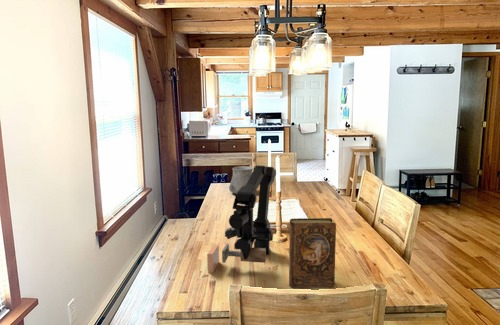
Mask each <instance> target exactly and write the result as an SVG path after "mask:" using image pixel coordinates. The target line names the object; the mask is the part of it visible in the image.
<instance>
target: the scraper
mask: <svg viewBox="0 0 500 325" xmlns="http://www.w3.org/2000/svg"><path fill="white" fill-rule="evenodd" d="M221 257H222V258H221V259H222V260H221V262H222V264H225V263H226V262H227V259H228V258H229V257H234V258H235V257H237V258H238V257H239V258H240V262H250V263H263V264H265V263H266V262H267V254H266V248H254V247H253V246H252V247H251V250H250V253H249V255H248V258H247V260H246V259H244V257H243V253H242V250H241V249H240V250H231V249H230V243H226V244H225V245H224V247H223V249H222V250H221Z"/></svg>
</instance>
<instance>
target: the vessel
mask: <svg viewBox="0 0 500 325" xmlns="http://www.w3.org/2000/svg"><path fill="white" fill-rule="evenodd" d="M231 169H232V176H231V180H230V184H229V185H228V190H229V191H230V192H231V193H232V194H235V195H236V193H237V192H238V191H239V189H240V188H241V187H243V186H245V185H246V184H247V182H248V180H249V178H250V176H251V174H252V172H253V171H254V167H252V166H249V165H247V166H245V165H241V166H235V167H232V168H231Z"/></svg>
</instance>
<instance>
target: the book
mask: <svg viewBox="0 0 500 325" xmlns="http://www.w3.org/2000/svg"><path fill="white" fill-rule="evenodd" d="M336 235H337V223H336V222H334V221H333V218H331V217H319V218H318V217H312V218H311V217H310V218H309V217H308V218H307V217H306V218H303V217H302V218H297V217H296V218H290V219H289V244H288V245H289V248H288V252H289V253H288V254H289V255H288V256H289V259H288V260H289V264H288V265H289V267H288V269H289V270H288V287H290V288H291V289H320V288H321V289H322V288H323V289H325V288H326V289H327V288H333V287H335V281H336V280H335V278H336V242H337V241H336V240H337V239H336V237H337V236H336Z"/></svg>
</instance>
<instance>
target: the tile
mask: <svg viewBox="0 0 500 325" xmlns="http://www.w3.org/2000/svg"><path fill="white" fill-rule="evenodd" d="M219 249H220V246H219V244H213V245H212V247H211V248H210V250H209V251H208V252H207V260H206V261H207V272H208V273H211V274H212V273H214V272H215V270H216V268H217V267H218V264H219V263H220V250H219Z"/></svg>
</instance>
